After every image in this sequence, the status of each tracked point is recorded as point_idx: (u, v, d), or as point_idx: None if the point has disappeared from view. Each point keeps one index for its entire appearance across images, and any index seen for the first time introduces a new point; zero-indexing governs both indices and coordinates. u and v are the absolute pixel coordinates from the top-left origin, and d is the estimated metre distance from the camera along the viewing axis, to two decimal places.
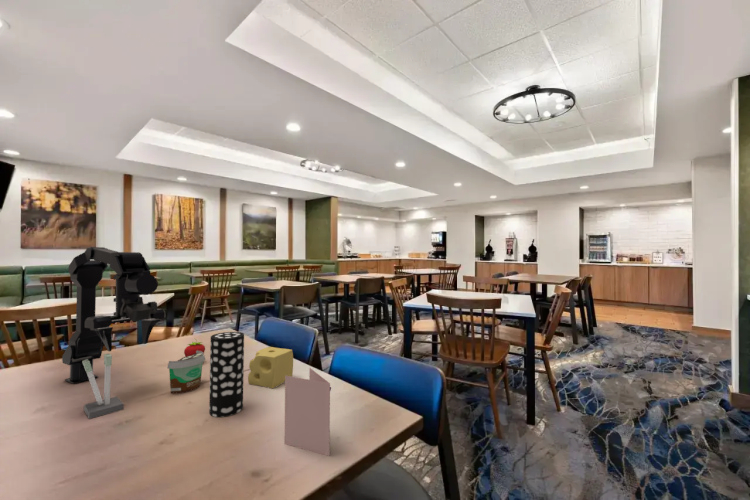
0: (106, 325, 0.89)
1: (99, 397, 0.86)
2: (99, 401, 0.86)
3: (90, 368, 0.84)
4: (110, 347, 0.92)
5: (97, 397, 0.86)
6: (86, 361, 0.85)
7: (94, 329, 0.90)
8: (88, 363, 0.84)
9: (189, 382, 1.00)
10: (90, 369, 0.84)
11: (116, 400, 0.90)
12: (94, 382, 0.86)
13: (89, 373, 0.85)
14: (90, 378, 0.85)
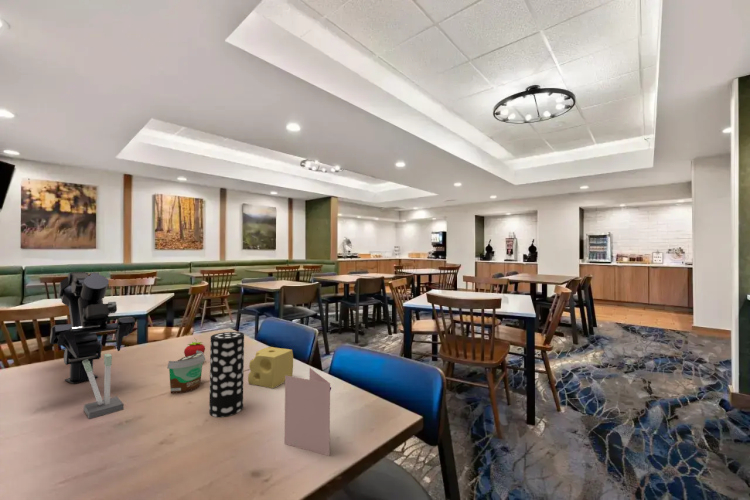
0: (65, 328, 0.90)
1: (99, 397, 0.86)
2: (99, 401, 0.86)
3: (90, 368, 0.84)
4: (76, 352, 0.90)
5: (97, 397, 0.86)
6: (86, 361, 0.85)
7: (58, 339, 0.90)
8: (88, 363, 0.84)
9: (189, 382, 1.00)
10: (90, 369, 0.84)
11: (116, 400, 0.90)
12: (94, 382, 0.86)
13: (89, 373, 0.85)
14: (90, 378, 0.85)
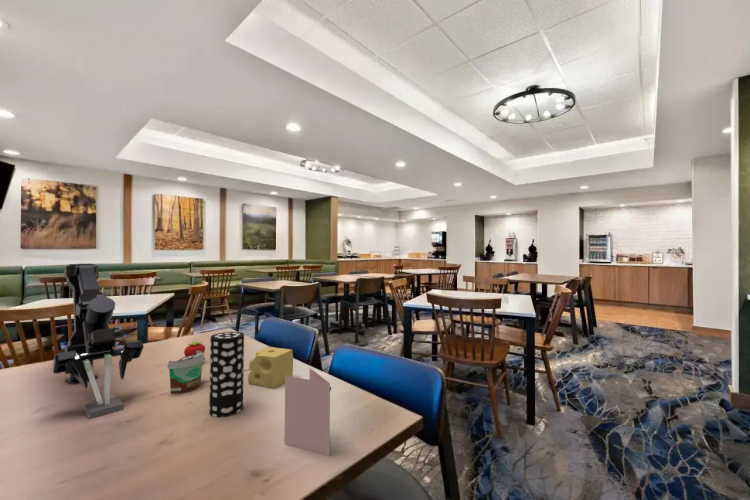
0: (69, 356, 0.84)
1: (99, 397, 0.86)
2: (99, 401, 0.86)
3: (90, 368, 0.84)
4: (85, 381, 0.84)
5: (97, 397, 0.86)
6: (86, 361, 0.85)
7: (65, 368, 0.85)
8: (88, 363, 0.84)
9: (189, 382, 1.00)
10: (90, 369, 0.84)
11: (116, 400, 0.90)
12: (94, 382, 0.86)
13: (89, 373, 0.85)
14: (90, 378, 0.85)
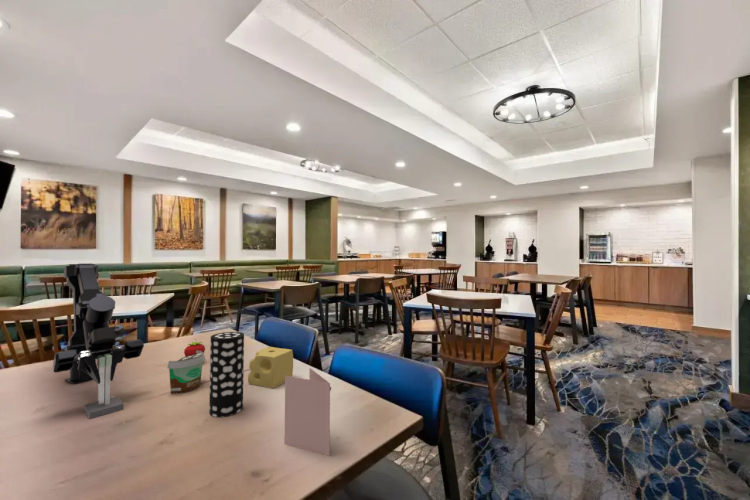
0: (70, 355, 0.84)
1: (102, 395, 0.87)
2: (101, 400, 0.87)
3: (103, 364, 0.86)
4: (98, 377, 0.86)
5: (100, 395, 0.86)
6: (101, 356, 0.87)
7: (78, 364, 0.86)
8: (103, 358, 0.86)
9: (188, 382, 1.00)
10: (103, 365, 0.86)
11: (116, 400, 0.90)
12: (102, 379, 0.87)
13: (100, 369, 0.87)
14: (100, 374, 0.86)
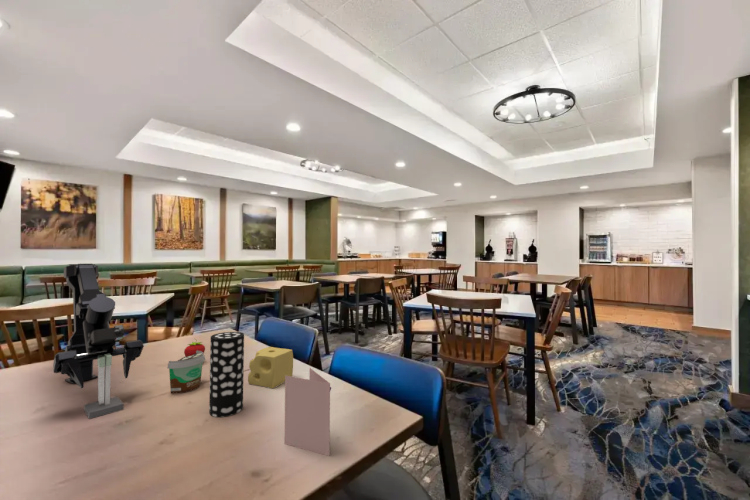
0: (70, 356, 0.84)
1: (102, 395, 0.87)
2: (101, 400, 0.87)
3: (103, 364, 0.87)
4: (81, 382, 0.83)
5: (100, 395, 0.86)
6: (101, 356, 0.87)
7: (61, 368, 0.84)
8: (103, 358, 0.86)
9: (189, 382, 1.00)
10: (103, 365, 0.86)
11: (116, 400, 0.90)
12: (102, 379, 0.87)
13: (101, 369, 0.87)
14: (100, 374, 0.87)
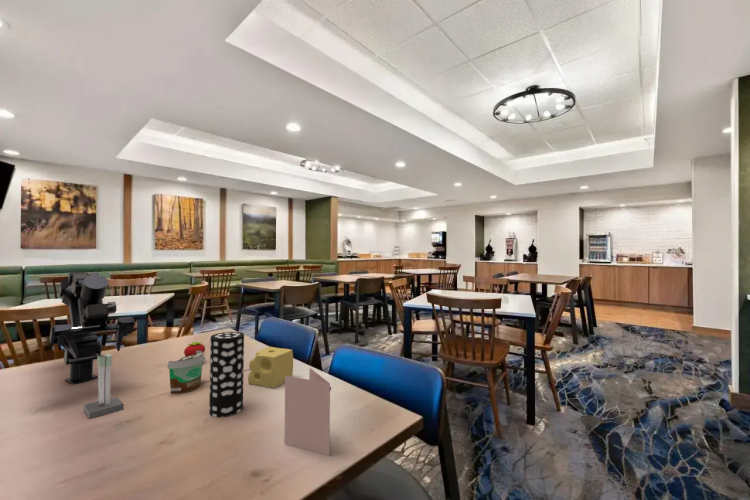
0: (65, 328, 0.90)
1: (102, 395, 0.87)
2: (101, 400, 0.87)
3: (103, 364, 0.87)
4: (76, 352, 0.89)
5: (100, 395, 0.86)
6: (101, 356, 0.87)
7: (57, 340, 0.90)
8: (103, 358, 0.86)
9: (189, 382, 1.00)
10: (103, 365, 0.86)
11: (116, 400, 0.90)
12: (102, 379, 0.87)
13: (101, 369, 0.87)
14: (100, 374, 0.87)
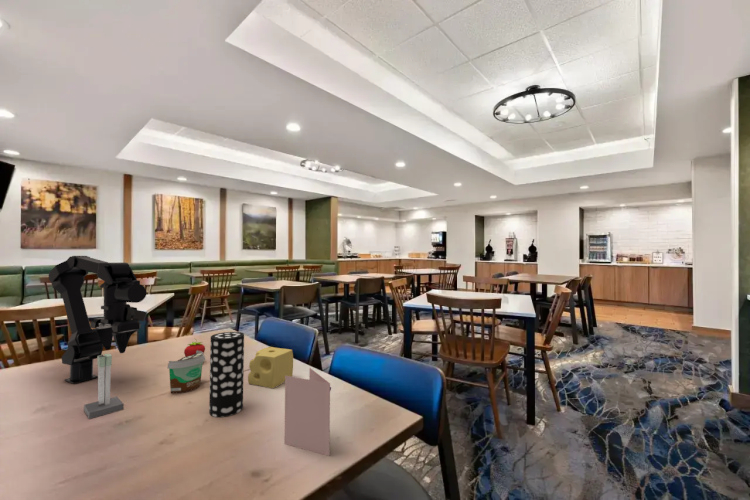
0: None
1: (102, 395, 0.87)
2: (101, 400, 0.87)
3: (103, 364, 0.87)
4: None
5: (100, 395, 0.86)
6: (101, 356, 0.87)
7: (126, 332, 1.00)
8: (103, 358, 0.86)
9: (189, 382, 1.00)
10: (103, 365, 0.86)
11: (116, 400, 0.90)
12: (102, 379, 0.87)
13: (101, 369, 0.87)
14: (100, 374, 0.87)
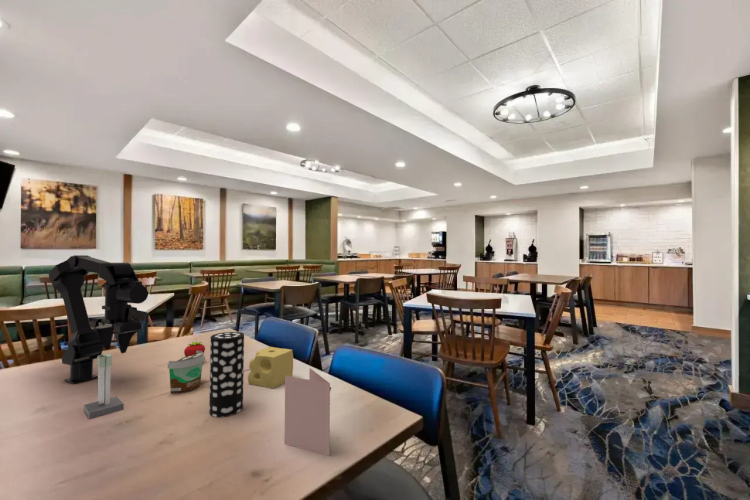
0: None
1: (102, 395, 0.87)
2: (101, 400, 0.87)
3: (103, 364, 0.87)
4: None
5: (100, 395, 0.86)
6: (101, 356, 0.87)
7: (129, 332, 1.00)
8: (103, 358, 0.86)
9: (189, 382, 1.00)
10: (103, 365, 0.86)
11: (116, 400, 0.90)
12: (102, 379, 0.87)
13: (101, 369, 0.87)
14: (100, 374, 0.87)
